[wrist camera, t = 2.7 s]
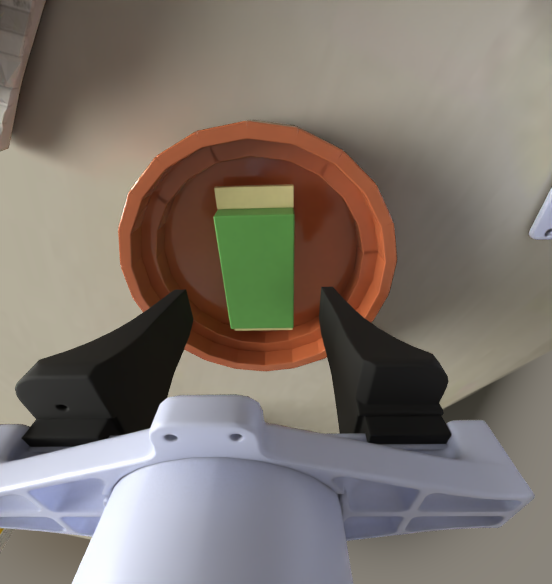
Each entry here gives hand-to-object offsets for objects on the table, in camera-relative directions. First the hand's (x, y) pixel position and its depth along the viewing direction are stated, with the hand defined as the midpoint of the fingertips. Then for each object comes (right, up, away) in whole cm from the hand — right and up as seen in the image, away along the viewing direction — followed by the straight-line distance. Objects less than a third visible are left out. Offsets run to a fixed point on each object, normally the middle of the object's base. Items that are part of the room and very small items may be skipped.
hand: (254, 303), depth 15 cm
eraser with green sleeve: (0, +3, +4) cm, 5 cm away
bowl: (0, +3, +5) cm, 6 cm away
